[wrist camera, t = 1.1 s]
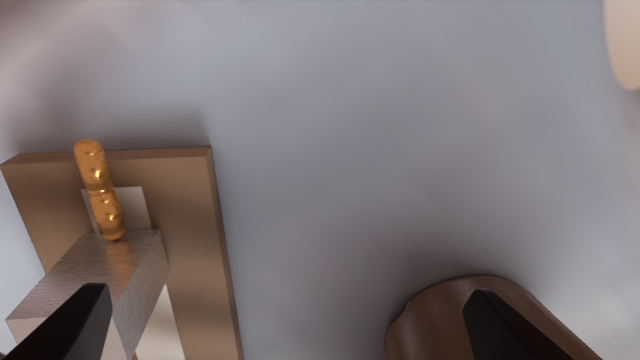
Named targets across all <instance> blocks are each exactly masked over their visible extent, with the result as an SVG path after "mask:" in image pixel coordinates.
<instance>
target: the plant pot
mask: <svg viewBox="0 0 640 360" xmlns="http://www.w3.org/2000/svg"><path fill="white" fill-rule="evenodd" d="M475 289H491V290H492V291H494V292H495V293H496V294H498V295H499V296H500V297H501V298H502V299H503V300H505V301H506V302H507V303H508V304H509V305H511V306H512V307H513V308H514V309H515V310H517V311H518V312H519V313H520V314H521V315H523V316H524V317H525V318H526V319H527V320H528V321H530V322H531V323H532V324H533V325H534V326H536V327H537V328H538V329H539V330H540V331H542V332H543V333H544V334H545V335H546V336H548V337H549V338H550V339H551V340H552V341H553V342H555V343H556V344H557V345H558V346H559V347H561V348H562V349H563V350H564V351H565V352H567V353H568V354H569V355H570V356H571V357H573V358H574V359H575V360H602V359H601V358H600V357H599V356H598V355H597V354H596V353H595V352H594V351H593V350H592V349H590V348H589V347H588V346H587V345H586V344H585V343H584V342H583V341H582V340H581V339H579V338H578V337H577V336H576V335H575V334H574V333H573V332H572V331H571V330H569V329H568V328H567V327H566V326H565V325H564V324H563V323H562V322H561V321H560V320H558V319H557V318H556V317H555V316H554V315H553V314H552V313H551V312H550V311H549V310H548V309H547V308H546V307H545V306H543V305H542V304H541V303H540V302H539V301H538V300H537V299H536V298H535V297H534V296H533V295H532V294H531V293H530V292H529V291H527V290H525V289H523V288H521V287H519V286H517V285H515V284H513V283H511V282H510V281H508V280H506V279H504V278H500V277H494V276H483V275H478V276H467V277H460V278H455V279H451V280H447V281H444V282H442V283H439V284H436V285H434V286H432V287H429V288H427V289H425V290H423V291H421V292H420V293H419V294H417V295H416V296H415V297H413V298H412V299H411V300H409V301H408V302H407V304H406V307H405V309H404V311H403V313H402V314H401V316H400V317H399V318H398V319H397V320H395V321H393V322H391V324H390V326H389V328H388V330H387V334H386V337H385V343H384V359H385V360H474V357H473V354H472V350H471V346H470V342H469V339H468V335H467V331H466V327H465V324H464V320H463V316H462V308H463V305H464V304H465V302H466V301H467V299H468V298H469V296H470V295H471V293H472V292H473V291H474V290H475Z"/></svg>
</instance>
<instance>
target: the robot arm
mask: <svg viewBox="0 0 640 360" xmlns="http://www.w3.org/2000/svg"><path fill="white" fill-rule="evenodd" d="M112 311H113V305H112V300H111V296H110V291H109V287H108V285H107V284H106V283H92V282H90V283H86V284H84V285H82V286H81V287H80V288H79V289H78V290H77V291H76V292H75V293H74V294H72V295H71V296H70V297H69V298H68V299H67V300H66V301H65V302H64V303H63V304H62V305H60V306H59V307H58V308H57V309H56V310H55V311H54V312H53V313H52V314H51V315H50V316H49V317H47V318H46V319H45V320H44V321H43V322H42V323H41V324H40V325H39V326H38V327H37V328H35V329H34V330H33V331H32V332H31V333H30V334H29V335H28V336H27V337H26V338H25V339H23V340H22V341H21V342H20V343H19V344H18V345H17V346H16V347H15V348H14V349H13V350H11V351H10V352H9V353H8V354H7V355H6V356H5V357H4V358H3V359H2V360H101V356H102V352H103V348H104V344H105V341H106V337H107V333H108V329H109V325H110V321H111V317H112ZM462 316H463V320H464V324H465V327H466V331H467V335H468V339H469V342H470V346H471V350H472V354H473V357H474V360H575V359H574V358H573V357H571V356H570V355H569V354H568V353H567V352H565V351H564V350H563V349H562V348H561V347H559V346H558V345H557V344H556V343H555V342H553V341H552V340H551V339H550V338H549V337H548V336H546V335H545V334H544V333H543V332H542V331H540V330H539V329H538V328H537V327H536V326H534V325H533V324H532V323H531V322H530V321H528V320H527V319H526V318H525V317H524V316H523V315H521V314H520V313H519V312H518V311H517V310H515V309H514V308H513V307H512V306H511V305H509V304H508V303H507V302H506V301H505V300H503V299H502V298H501V297H500V296H499V295H498V294H496V293H495V292H494V291H492V290H491V289H475V290H474V291H473V292H472V293H471V295H470V296H469V298H468V299H467V301H466V302H465V304H464V305H463V308H462Z"/></svg>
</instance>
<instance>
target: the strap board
mask: <svg viewBox="0 0 640 360" xmlns="http://www.w3.org/2000/svg"><path fill="white" fill-rule="evenodd" d="M104 153H105V156H106V160H107V163H108V166H109V170H110V173H111V177H112V180H113V184H114V187H113V190H114V191H115V192H116V194H117V197H118V201H119V204H120V208H121V211H122V214H123V218H124V221H125V225H126V231H134V230H152V229H159V230H160V234H161V238H162V242H163V246H164V250H165V254H166V258H167V262H168V266H169V271H170V274H169V276H168V278H167V281H166V283H165V285H164V287H163V290H162V292H161V294H160V296H159V299H158V301H157V303H156V305H155V308H154V310H153V312H152V314H151V317H150V319H149V321H148V323H147V326H146V328H145V330H144V332H143V334H142V337H141V339H140V341H139V343H138V346H137V348H136V350H135V352H134V355H133V357H132V359H131V360H244V357H243V351H242V344H241V338H240V331H239V325H238V318H237V312H236V305H235V299H234V292H233V286H232V279H231V273H230V266H229V260H228V253H227V247H226V240H225V234H224V227H223V221H222V214H221V208H220V201H219V195H218V188H217V182H216V175H215V169H214V162H213V156H212V149H211V146H204V147H179V148H154V149H129V150H104ZM0 169H1V171H2V174H3V176H4V178H5V181H6V183H7V185H8V187H9V190H10V192H11V194H12V197H13V199H14V201H15V204H16V206H17V208H18V211H19V213H20V215H21V217H22V220H23V222H24V224H25V227H26V229H27V231H28V234H29V236H30V238H31V241H32V243H33V245H34V247H35V250H36V252H37V254H38V257H39V259H40V261H41V264H42V266H43V268H44V271H45V273H46V274H47V273H48V272H49V270H50V269H51V268H52V267H53V266H54V265H55V264H56V263H57V262H58V260H59V259H60V258H61V257H62V256H63V255H64V254H65V253H66V252H67V250H68V249H69V248H70V247H71V246H72V245H73V244H74V243H75V242H76V241H77V239H78V238H79V237H80V236H81V235H82V234H83V233H96V232H99V229H98V226H97V223H96V220H95V217H94V214H93V211H92V208H91V205H90V201H89V196H90V195H89V194H88V193H87V192H86V189H85V187H84V184H83V180H82V177H81V174H80V171H79V168H78V165H77V162H76V159H75V156H74V153H73V152H54V153H29V154H18V155H16V156H14V157H13V158H11V159H9V160H7V161H5V162H4V163H2V164H0Z"/></svg>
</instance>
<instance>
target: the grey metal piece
mask: <svg viewBox="0 0 640 360" xmlns="http://www.w3.org/2000/svg"><path fill="white" fill-rule="evenodd" d="M73 153H74V156H75V159H76V162H77V165H78V168H79V171H80V174H81V177H82V180H83V184H84V187H85V189H86V192H87V193H88V194H89V195H90V196H89V201H90V205H91V208H92V211H93V214H94V217H95V220H96V223H97V226H98V229H99V232H96V233H83V234H82V235H81V236H80V237H79V238H78V239H77V241H76V242H75V243H74V244H73V245H72V246H71V247H70V248H69V249H68V250H67V252H66V253H65V254H64V255H63V256H62V257H61V258H60V259H59V260H58V262H57V263H56V264H55V265H54V266H53V267H52V268H51V269H50V270H49V272H48V273H47V274H46V275H45V276H44V277H43V278H42V279H41V280H40V282H39V283H38V284H37V285H36V286H35V287H34V288H33V289H32V290H31V291H30V293H29V294H28V295H27V296H26V297H25V298H24V299H23V300H22V301H21V303H20V304H19V305H18V306H17V307H16V308H15V309H14V310H13V311H12V313H11V314H10V315H9V316H8V317H7V318H6V319H5V321H6V323H7V325H8V327H9V329H10V331H11V333H12V335H13V336H14V338H15V340H16V342H17V344H19V343H20V342H21V341H22V340H23V339H25V338H26V337H27V336H28V335H29V334H30V333H31V332H32V331H33V330H34V329H35V328H37V327H38V326H39V325H40V324H41V323H42V322H43V321H44V320H45V319H46V318H47V317H49V316H50V315H51V314H52V313H53V312H54V311H55V310H56V309H57V308H58V307H59V306H60V305H62V304H63V303H64V302H65V301H66V300H67V299H68V298H69V297H70V296H71V295H72V294H74V293H75V292H76V291H77V290H78V289H79V288H80V287H81V286H82V285H84V284H86V283H90V282H92V283H106V284H107V285H108V287H109V291H110V296H111V300H112V305H113V311H112V317H111V321H110V325H109V329H108V333H107V337H106V341H105V344H104V348H103V352H102V356H101V360H131V359H132V357H133V355H134V352H135V350H136V348H137V346H138V343H139V341H140V339H141V337H142V334H143V332H144V330H145V328H146V326H147V323H148V321H149V319H150V317H151V314H152V312H153V310H154V308H155V305H156V303H157V301H158V299H159V296H160V294H161V292H162V290H163V287H164V285H165V283H166V281H167V278H168V276H169V274H170V271H169V266H168V262H167V258H166V254H165V250H164V246H163V242H162V238H161V234H160V230H159V229H152V230H134V231H126V225H125V221H124V218H123V214H122V211H121V208H120V204H119V201H118V197H117V194H116V192H115V191H114V190H113V187H114V184H113V180H112V177H111V173H110V170H109V166H108V163H107V160H106V156H105V153H104V149H103V147H102V145H101V144H100V143H99V142H98V141H97V140H95V139H91V138H84V139H81V140H79V141H78V142H77V143H76V144H75V145H74V148H73Z"/></svg>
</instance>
